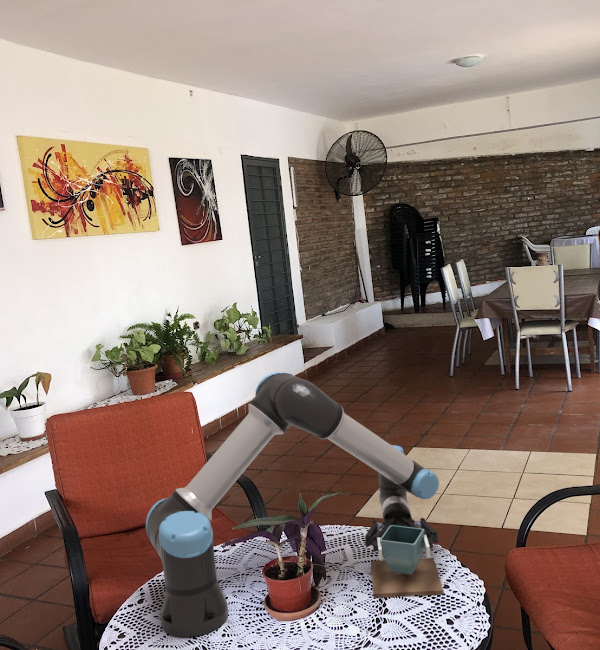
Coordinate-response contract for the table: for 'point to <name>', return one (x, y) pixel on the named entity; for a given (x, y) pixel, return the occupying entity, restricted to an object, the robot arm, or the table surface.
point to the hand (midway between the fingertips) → (404, 553)
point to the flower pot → (402, 548)
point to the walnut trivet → (406, 580)
